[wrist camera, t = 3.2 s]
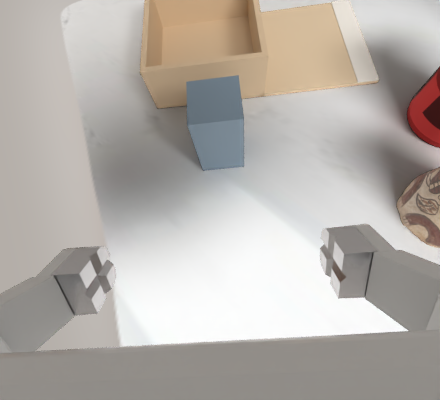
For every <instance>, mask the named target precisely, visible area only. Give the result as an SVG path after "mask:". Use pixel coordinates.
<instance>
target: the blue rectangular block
mask: <svg viewBox="0 0 440 400" xmlns="http://www.w3.org/2000/svg"><path fill="white" fill-rule="evenodd" d="M186 90H187V126H188V129H189V132H190V135H191V138H192V140H193V143H194V146H195V149H196V152H197V155H198V158H199V161H200V163H201V166H202V169H203V171H204V170H214V169H224V168H234V167H244V117H243V108H242V100H241V91H240V82H239V75H236V76H228V77H220V78H212V79H204V80H196V81H188V82H186Z"/></svg>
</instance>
